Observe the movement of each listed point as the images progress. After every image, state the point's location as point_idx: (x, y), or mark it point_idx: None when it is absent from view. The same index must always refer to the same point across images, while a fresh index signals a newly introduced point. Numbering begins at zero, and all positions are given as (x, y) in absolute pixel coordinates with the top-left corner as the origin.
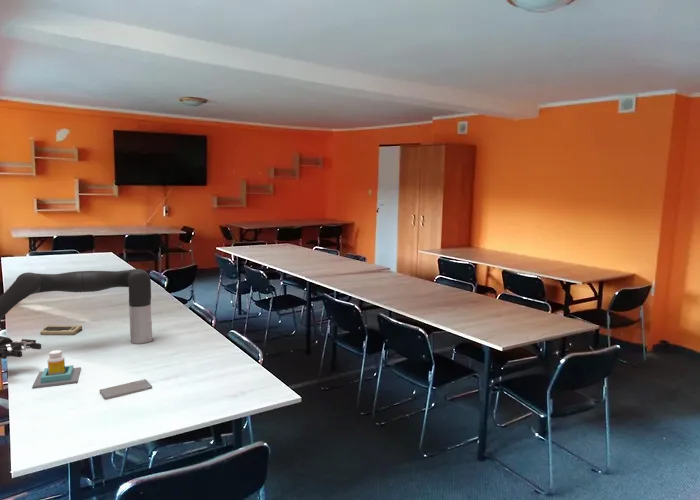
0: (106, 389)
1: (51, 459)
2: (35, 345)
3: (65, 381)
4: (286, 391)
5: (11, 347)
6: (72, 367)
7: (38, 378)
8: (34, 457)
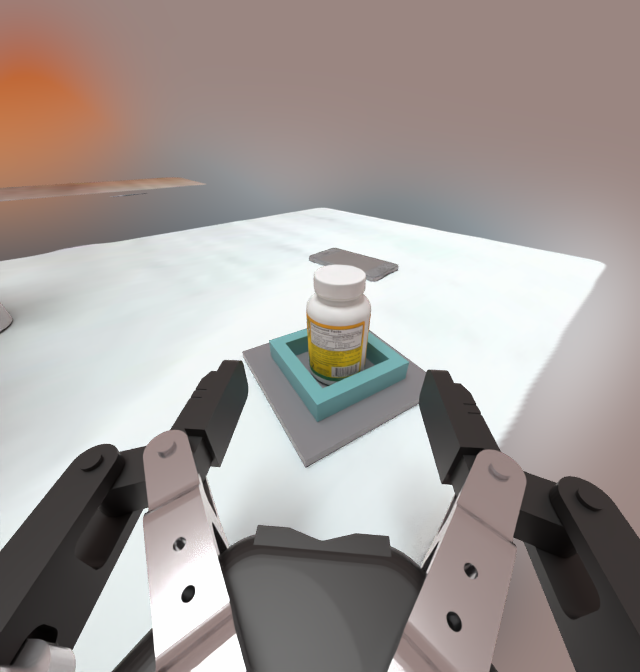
0: (369, 272)
1: (557, 254)
2: (229, 400)
3: None
4: (311, 209)
5: (409, 573)
6: (292, 333)
7: (375, 411)
8: (576, 263)
